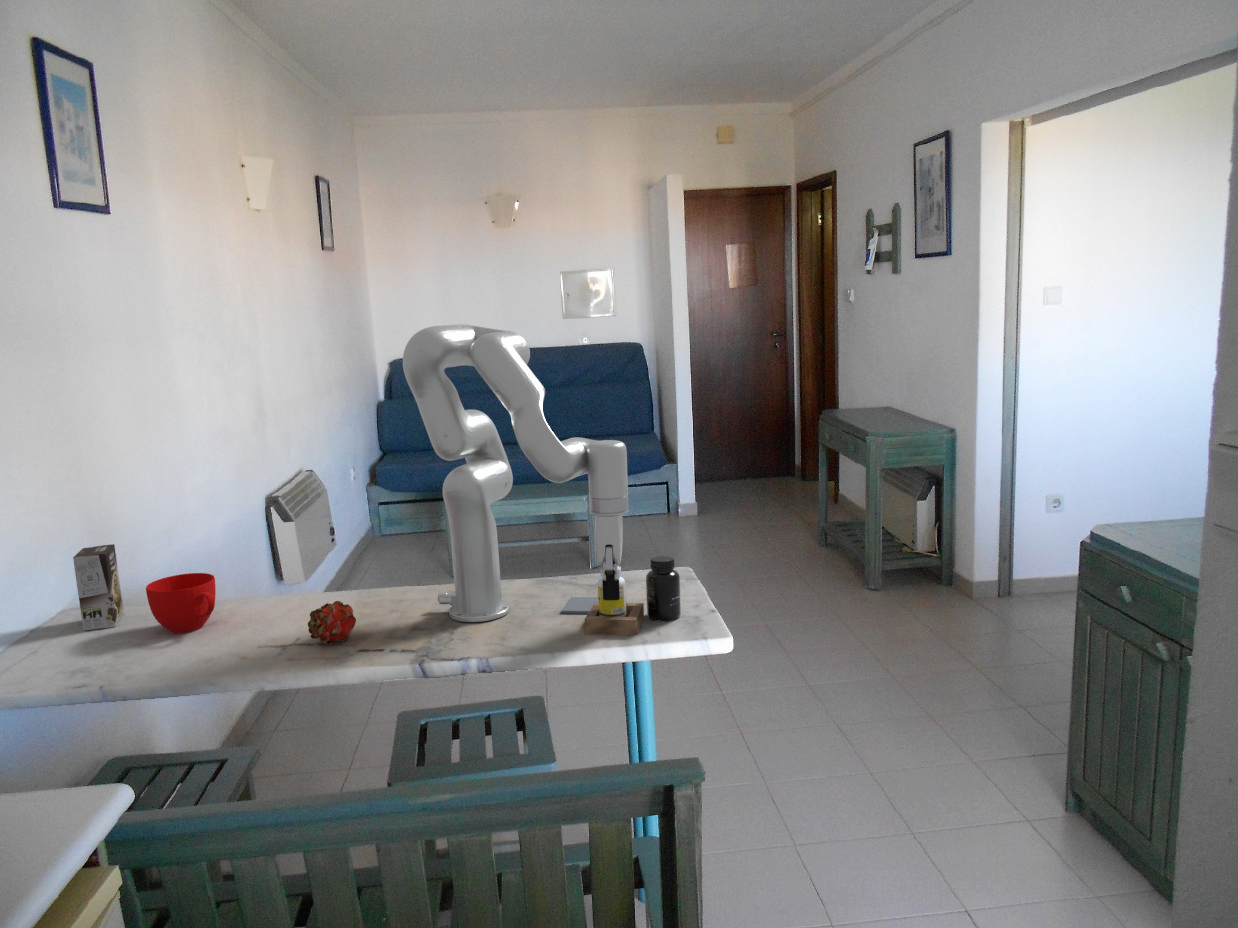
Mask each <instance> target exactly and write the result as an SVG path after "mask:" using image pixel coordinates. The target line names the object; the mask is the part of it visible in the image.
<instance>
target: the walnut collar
mask: <svg viewBox="0 0 1238 928" xmlns="http://www.w3.org/2000/svg"><path fill="white" fill-rule="evenodd" d="M644 606H645V604H644V603H643V602H626V616H624V617H606V616H600V615H599V602H595V603H594V605H593V606H592V608H591V609H590V611H589V613H588V614H587V615H586V616H585V617H584V633H585V635H611V636H612V635H614V636H615V635H616V636H617V635H619V636H620V635H621V636H637V634H638V632H639V630H640V627H641V625H642V623H643V620H644V618H645V607H644Z"/></svg>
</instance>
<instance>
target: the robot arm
mask: <svg viewBox="0 0 1238 928" xmlns="http://www.w3.org/2000/svg"><path fill="white" fill-rule="evenodd" d="M530 357H531V350H530V346H529V344H528V342H527V340H526V339H525V338H524V337H523V336H521V335H520V334H519V333H517V332H514V331H511V330H503V329H502V330H501V329H497V328H496V329H494V328H490V327H484V326H483V327H482V326H478V325H477V326H476V325H470V324H449V325H447V324H446V325H442V324H441V325H433V326H428V327H424V328H423V329H420V330H418V331H417V332H416V333H414V334H413V335H412V336H411V337H410V339H408V341H407V343H406V345H405V348H404V351H403V354H402V368H403V373H404V377H405V379H406V382H407V384H408V386H409V388H410V389H409V390H410V391H411V393H412V395H413V397H414V400H415V402H416V404H417V407H418V410H419V414H420V417H421V418H422V421H423V425H424V427H425V430H426V433H427V436H428V438H429V440H430V443H431V446H432V449H433V450H434V452H435V454H436V455H437V456H438V457H439V458H441V459H442V460H443V461H444V460H445V461H456V460H461V459H465V462H466V463H465V464H462V465H460V466H457V467H456V468H454V469H453V470H451V471H450V472H449V473H448V474H447V476H446V477H445V478H444V481H443V484H442V497H443V502H444V505H445V510H446V512H447V517H448V524H449V533H450V545H451V554H452V555H451V556H452V568H453V570H452V571H453V583H454V591H452V592H438V594H437V602H438V603H439V605H450V608H449V609H448V615H449V617H450V618H451V619H453V620H454V621H458V622H462V623H463V622H464V623H481V622H482V623H483V622H487V621H493V620H497V619H500V618H502V617H504V616H506V615H507V614H509V612H510V610H511V607H510V606H511V604H510V603H509V602H508V601H507V600H504V599H502V583H501V570H500V556H499V553H500V552H499V542H498V541H499V540H498V529H497V524H496V523H497V522H496V519H495V517H494V514H493V512H492V508H491V504H493V503H496V502H498V501H500V500H502V499H504V498H505V497H506V496H508V494H509V493H510V492H511V491H512V490H511V489H512V487H513V483H514V477H513V471H512V468H511V465H510V462H509V459H508V456H507V453H506V451H505V447H504V445H503V442H502V440H501V437H500V435H499V433H498V429H497V427H496V425H495V424H494V422H493V420H492V419H491V418H490V417H489V415H487V414H486V413H485V412H483V411H481V410H478V409H465V408H464V406H463V404H462V401H461V399H460V395H459V393H458V390H457V388H456V386H455V385H454V383H453V381H451V379H450V378H449V377H448V376H447V374H446V372H445V370H446V369H448V368H453V367H454V368H455V367H460V366H470V367H474V369H475V370H476V371H477V373H478V375H480V377H482V380H484V382H485V383H486V385H487V386H488V387H489V388H490V389H491V391H492V393H494V395H495V397H497V399H498V400H499V401H500V403H501V404H502V405H503V407H504V408H505V410H506V411H507V412H508V413H509V416H510V419H511V425H512V429H513V432H514V435H515V437H516V441H517V444H518V446H519V447H520V450H521V451H522V452H523V454H524V455H525V457H526V458H527V459H528V461H529V462H530V463H531V465H532V466H533V467H534V468H535V470H536V471H537V472H538V473H539V474H540V475H541V476H542V477H543V478H544V479H546V480H548V481H549V482H551V483H554V484H563V483H566V482H569V481H571V480H573V479H575V478H577V477H581V476H584V475H587V474H588V475H587V476H588V495H589V496H588V501H589V502H588V503H589V514H591V515H592V516H594V547H595V548H594V550H595V553H594V554H595V565H596V566H597V567H600V565H602V567H603V580H602V585H603V600H619V599H620V592H619V579H618V571H617V567H618V566H620V565H621V562H622V556H623V546H624V545H623V543H624V542H623V541H624V538H623V536H624V532H623V531H624V529H623V525H624V524H623V522H624V521H623V515H625V514H628V513H629V488H628V487H629V485H628V484H629V483H628V453H627V452H628V451H627V446H626V444H625V443H624V442H623V441H620V440H615V439H610V440H609V439H603V440H597V439H596V440H595V439H591V438H587V437H586V438H585V437H578V436H577V437H570V438H568V439H567V438H566V439H564V440H560V439H559V438H558V436H556V434H555V432H553V431H552V429H551V427H550V426H549V424H548V422H547V421H546V418H545V415H544V410H543V407H544V406H543V404H544V400H545V396H546V389H545V387H544V385H543V384H542V383H541V381H540V380H539V378H537V376H536V375H535V374H534V372H533V371H532V370H531V369H530V367H529V366H528V364H529V361H530ZM613 567H615V571H614V569H613Z"/></svg>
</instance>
